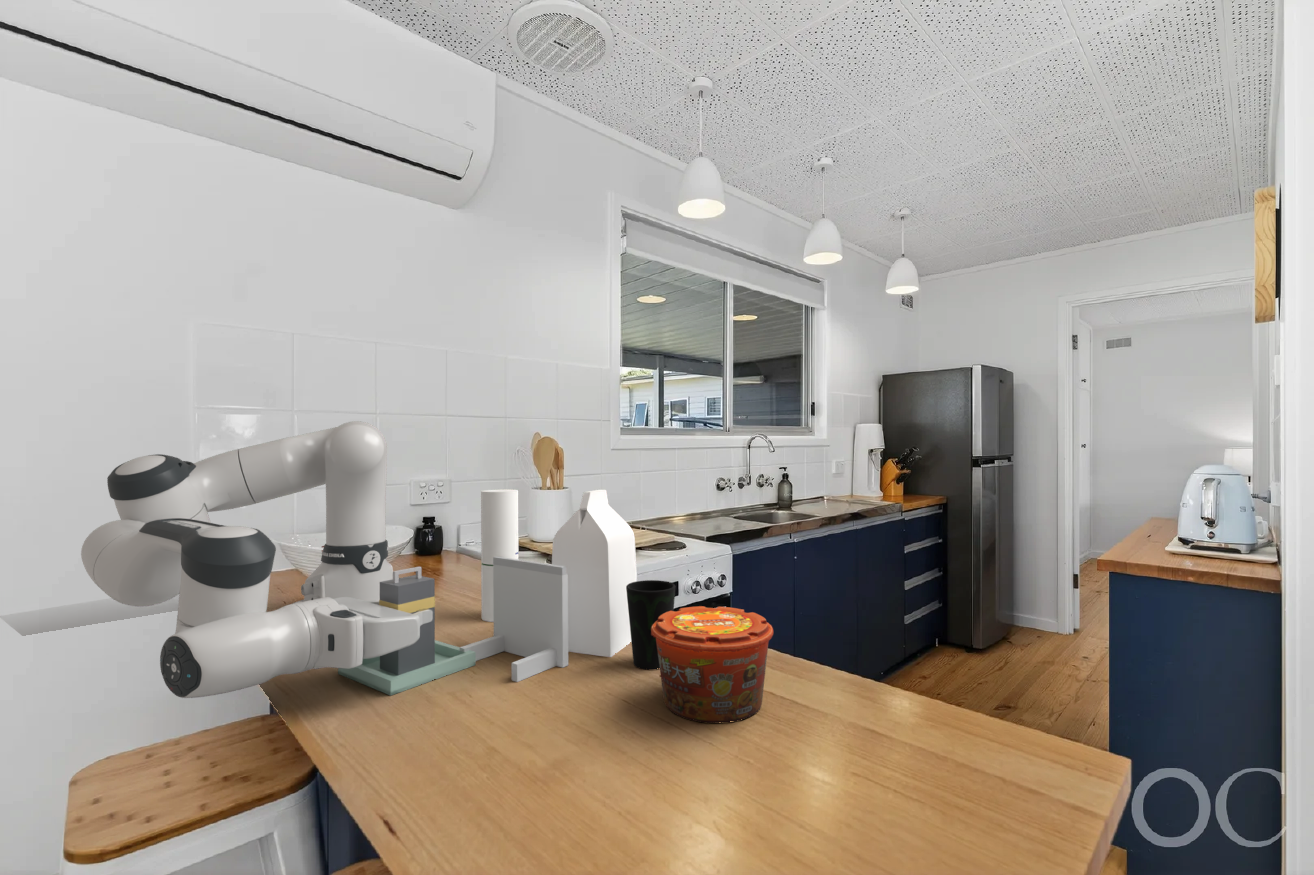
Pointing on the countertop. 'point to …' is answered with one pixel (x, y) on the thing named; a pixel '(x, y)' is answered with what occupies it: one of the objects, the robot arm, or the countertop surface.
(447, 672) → the tray
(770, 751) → the countertop surface
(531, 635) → the dock
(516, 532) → the cylindrical container
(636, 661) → the cup
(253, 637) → the robot arm
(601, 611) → the milk
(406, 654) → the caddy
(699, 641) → the food container
